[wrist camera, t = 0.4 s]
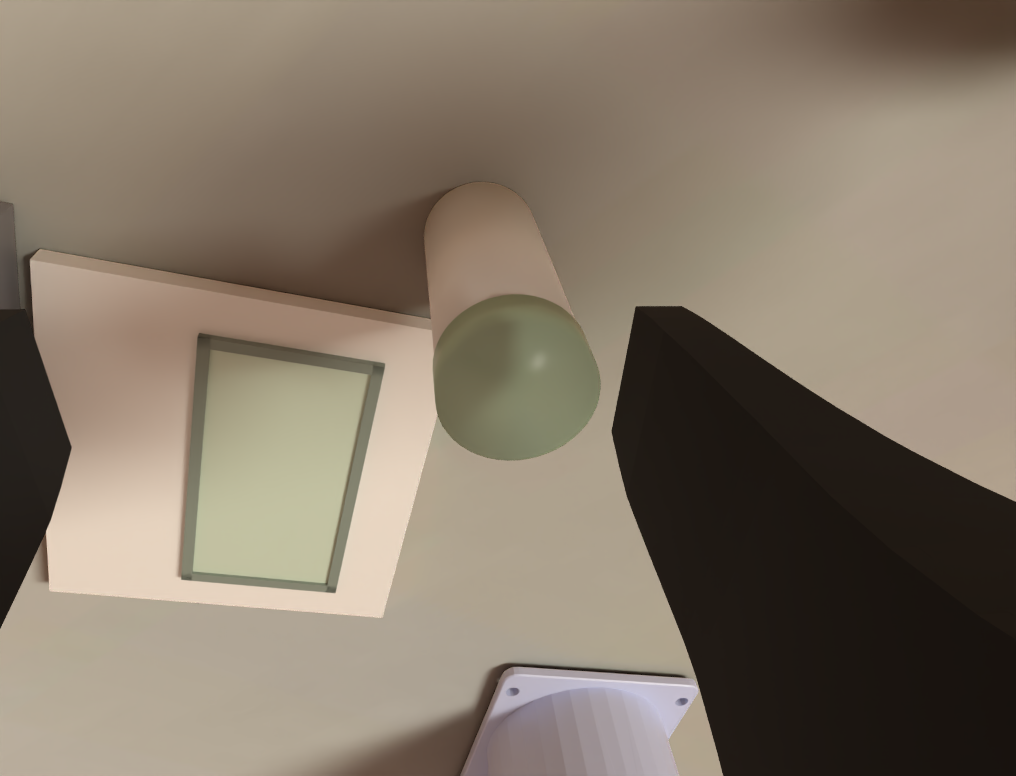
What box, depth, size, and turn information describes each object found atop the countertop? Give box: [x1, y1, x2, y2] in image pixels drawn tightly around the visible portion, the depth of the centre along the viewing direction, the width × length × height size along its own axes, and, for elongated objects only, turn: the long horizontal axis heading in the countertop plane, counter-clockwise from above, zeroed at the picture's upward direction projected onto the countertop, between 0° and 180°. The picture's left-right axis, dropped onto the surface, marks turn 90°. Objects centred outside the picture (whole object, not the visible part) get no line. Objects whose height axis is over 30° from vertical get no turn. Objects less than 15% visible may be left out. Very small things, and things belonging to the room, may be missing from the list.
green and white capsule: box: [424, 182, 600, 460], centre depth 16 cm, size 3×3×7 cm
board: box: [30, 249, 437, 618], centre depth 22 cm, size 11×10×1 cm
